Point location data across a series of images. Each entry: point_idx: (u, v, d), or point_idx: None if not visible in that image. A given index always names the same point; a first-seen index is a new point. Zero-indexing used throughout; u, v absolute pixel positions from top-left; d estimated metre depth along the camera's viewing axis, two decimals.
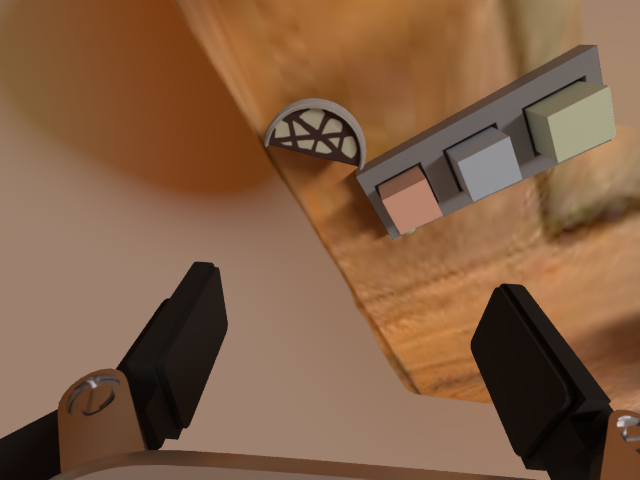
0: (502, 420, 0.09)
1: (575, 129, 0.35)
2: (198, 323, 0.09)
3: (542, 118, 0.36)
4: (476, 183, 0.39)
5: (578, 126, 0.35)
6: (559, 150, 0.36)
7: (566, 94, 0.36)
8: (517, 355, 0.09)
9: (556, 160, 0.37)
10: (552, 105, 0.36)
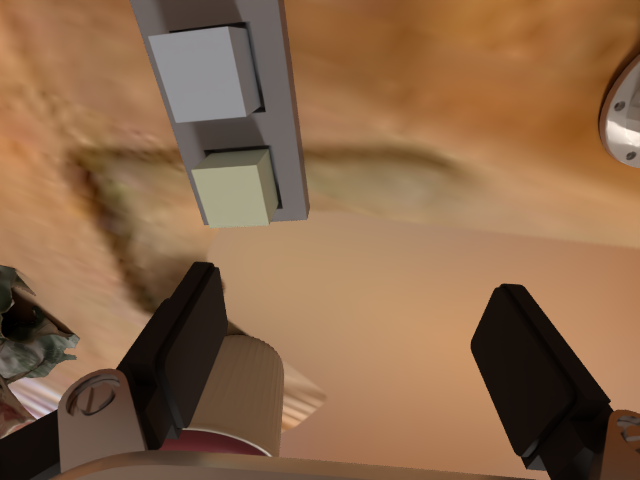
0: (502, 420, 0.09)
1: (230, 192, 0.29)
2: (198, 323, 0.09)
3: (254, 161, 0.28)
4: (182, 51, 0.23)
5: (233, 195, 0.29)
6: (208, 172, 0.28)
7: (271, 190, 0.32)
8: (517, 355, 0.09)
9: (195, 168, 0.28)
10: (265, 174, 0.30)
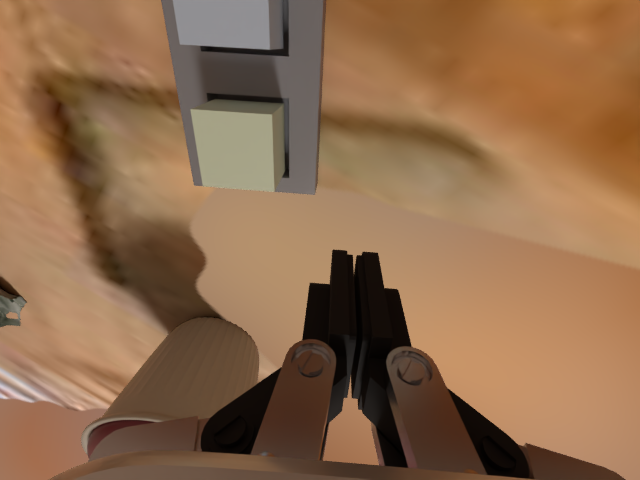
0: (351, 371, 0.10)
1: (234, 144, 0.24)
2: None
3: (269, 111, 0.23)
4: None
5: (237, 148, 0.24)
6: (211, 115, 0.23)
7: (280, 152, 0.27)
8: (356, 311, 0.10)
9: (195, 108, 0.23)
10: (278, 131, 0.25)
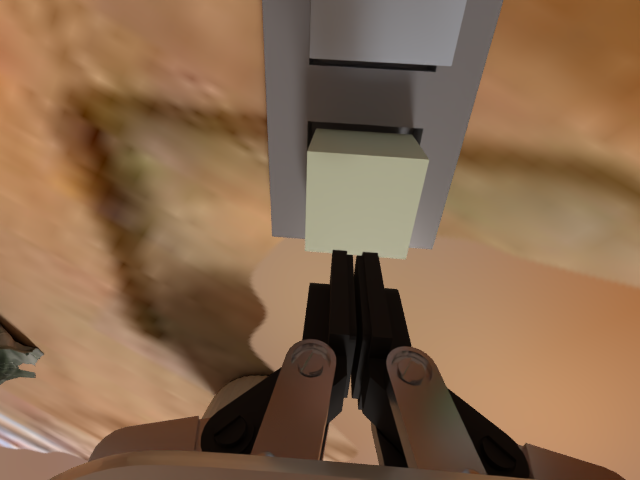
0: (351, 371, 0.10)
1: (362, 199, 0.17)
2: None
3: (416, 152, 0.16)
4: None
5: (365, 204, 0.17)
6: (336, 160, 0.16)
7: None
8: (356, 311, 0.10)
9: (313, 150, 0.16)
10: None
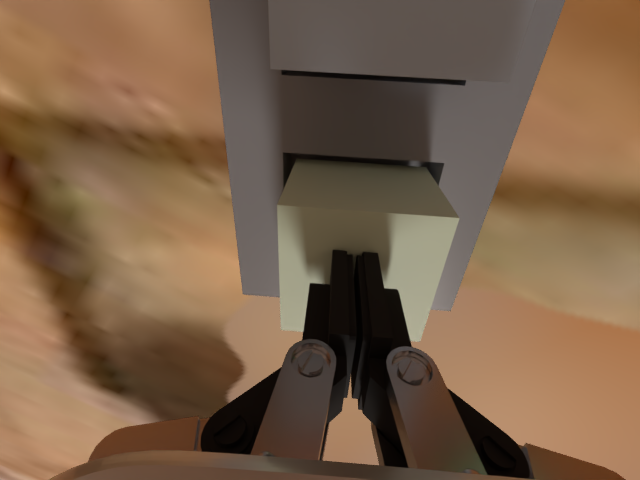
0: (351, 371, 0.10)
1: None
2: None
3: (438, 203, 0.11)
4: None
5: None
6: (321, 218, 0.11)
7: None
8: (356, 311, 0.10)
9: (286, 202, 0.11)
10: None
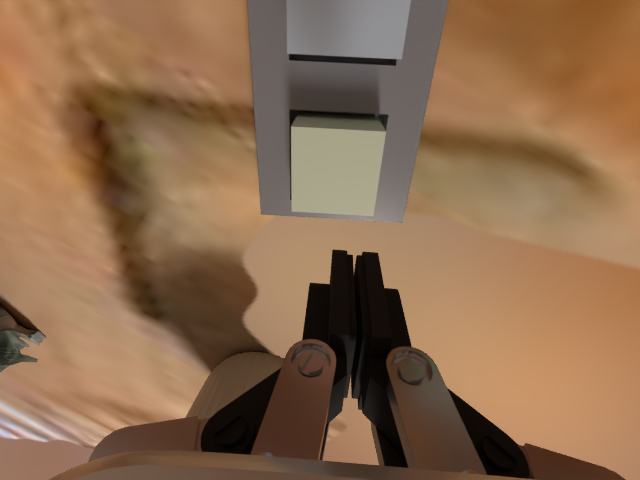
0: (351, 371, 0.10)
1: (335, 165, 0.21)
2: None
3: (377, 127, 0.21)
4: None
5: (338, 169, 0.21)
6: (314, 133, 0.20)
7: None
8: (356, 311, 0.10)
9: (295, 125, 0.20)
10: None
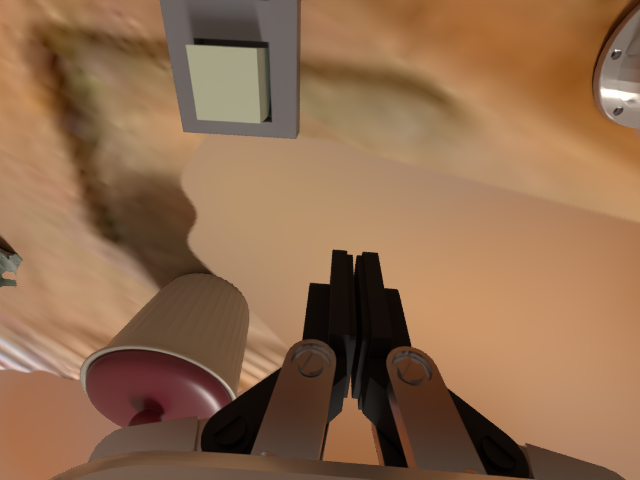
0: (351, 371, 0.10)
1: (224, 78, 0.28)
2: None
3: None
4: None
5: (227, 82, 0.28)
6: (204, 50, 0.27)
7: (266, 91, 0.31)
8: (356, 311, 0.10)
9: None
10: (263, 69, 0.29)
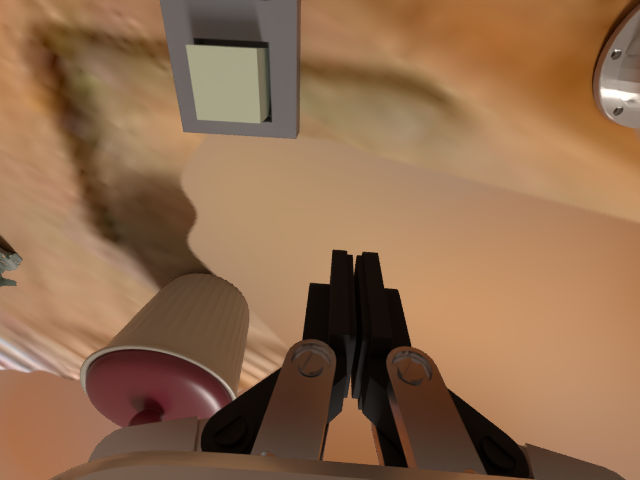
0: (351, 371, 0.10)
1: (224, 78, 0.28)
2: None
3: None
4: None
5: (227, 82, 0.28)
6: (204, 50, 0.27)
7: (266, 91, 0.31)
8: (356, 311, 0.10)
9: None
10: (263, 69, 0.29)
